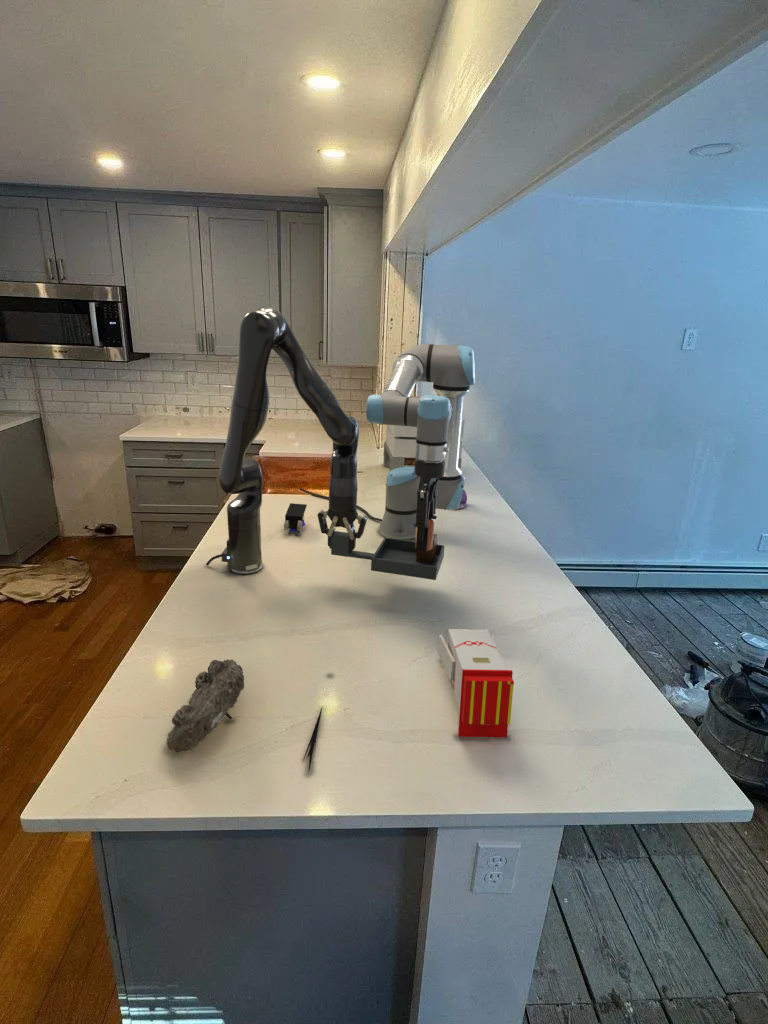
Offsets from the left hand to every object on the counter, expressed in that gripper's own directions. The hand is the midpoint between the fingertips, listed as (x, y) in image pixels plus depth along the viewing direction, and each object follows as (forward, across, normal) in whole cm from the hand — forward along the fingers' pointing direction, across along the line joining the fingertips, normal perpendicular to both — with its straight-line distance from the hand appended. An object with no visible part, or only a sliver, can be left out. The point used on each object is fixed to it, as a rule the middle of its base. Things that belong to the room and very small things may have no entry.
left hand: (341, 548), depth 157 cm
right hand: (-6, +23, -3) cm, 24 cm away
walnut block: (+1, +23, +3) cm, 24 cm away
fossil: (+11, -7, -59) cm, 61 cm away
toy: (+11, +40, -38) cm, 56 cm away
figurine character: (+11, -28, +35) cm, 46 cm away
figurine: (+11, +24, +81) cm, 85 cm away
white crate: (+11, +1, +124) cm, 125 cm away
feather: (+11, +13, -54) cm, 57 cm away
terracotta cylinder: (-5, +23, -3) cm, 24 cm away
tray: (+1, +13, 0) cm, 13 cm away
